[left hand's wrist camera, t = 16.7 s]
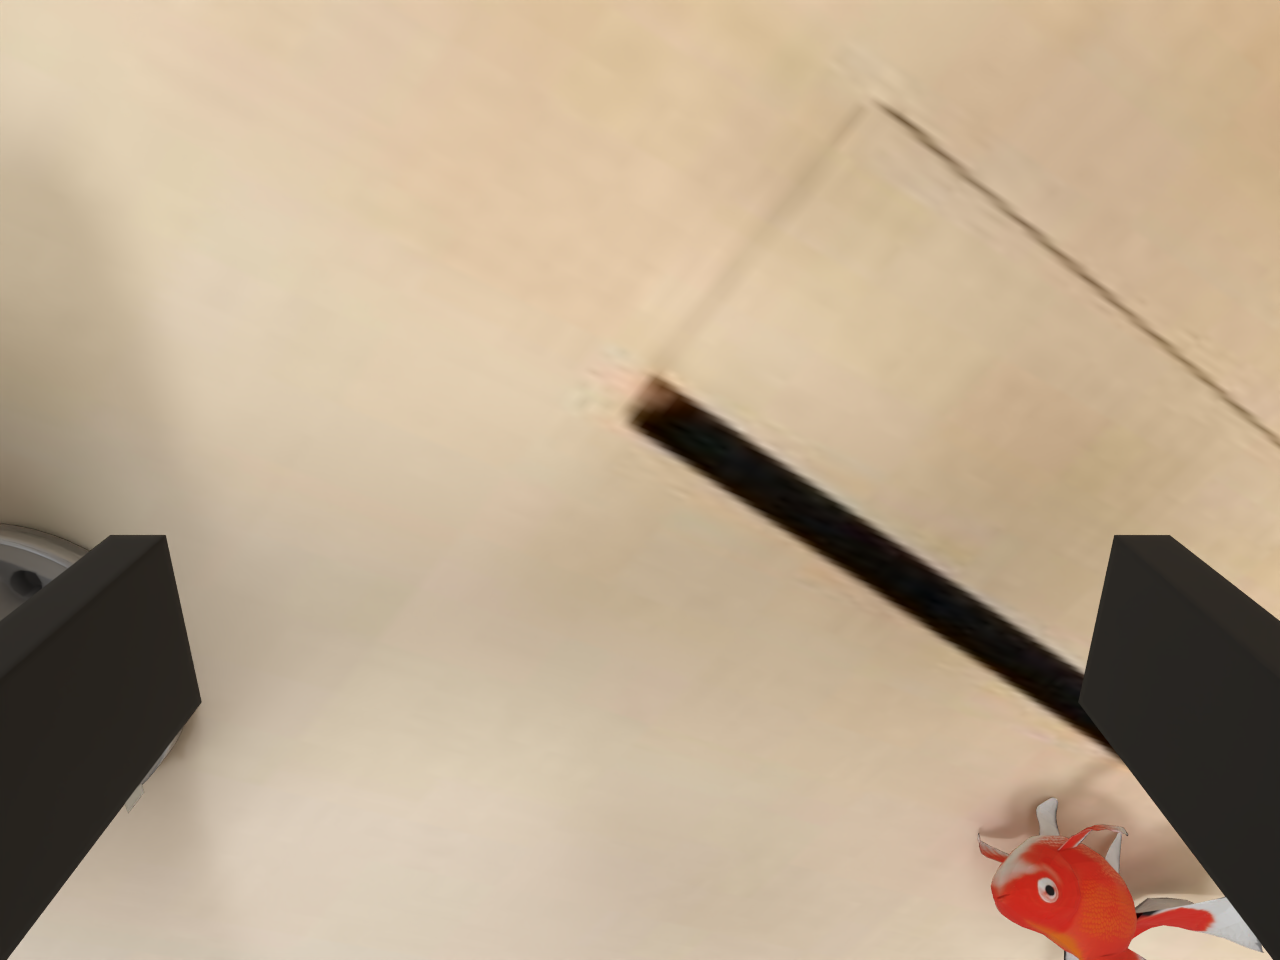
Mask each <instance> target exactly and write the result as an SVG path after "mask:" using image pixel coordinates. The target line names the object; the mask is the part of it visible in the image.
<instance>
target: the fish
mask: <svg viewBox="0 0 1280 960" xmlns="http://www.w3.org/2000/svg"><path fill="white" fill-rule="evenodd" d="M1057 806H1058V801H1057V799H1056V798H1053V797H1052V798H1050V799H1048V800H1046V801H1045V802H1043V803H1042V804H1040V805H1038V807H1037V809H1036V813H1037V818H1038V821H1039V825H1040V836H1032V837H1030V838H1029V839H1027V840H1026V841H1025V842H1024V843H1022V844H1021V845H1020V846H1019V847H1017V848H1016V849H1015V850H1013V851H1012V852H1011V853H1010V855H1009V854H1007V853H1004V852H1002V851H1000V850H998V849H995V848H993V847H991V846H989V845H987V844H986V843H984V842H982V841H980V836H979V833H978V838H977V839H978V842H979V847H980V851H981V853H982V854H983V855H984V856H986V857H988V858H991V859H994V860H996V861H999V862H1002V864H1001V865H1000V867H999V868H998V870H997V872H996V873H995V875H994V877H993V880H992V884H991V890H992V894H993V898H994V901H995V904H996V907H997V909H998V910H999V912H1000V913H1001V914H1002V915H1004V916H1005V917H1006V918H1008V919H1009V920H1011V921H1012V922H1014V923H1016V924H1018V925H1020V926H1022V927H1024V928H1027V929H1030V930H1033V931H1036V932H1038V933H1041V934H1043V935H1045V936H1046V937H1047V938H1049V939H1050V940H1051V941H1053V942H1054V943H1055V944H1057V945H1058V946H1059V947H1061V948H1062V949H1063V950H1064V960H1146V959H1144V958H1143V957H1141V956H1140V955H1138V954H1136V953H1135V952H1133V951H1131V950H1130V949H1128V946H1129V944H1130V942H1131V940H1132V939H1133V938H1134V937H1136V936H1137V935H1139V934H1140V933H1142V932H1144V931H1146V930H1148V929H1150V928H1152V927H1157V926H1162V925H1166V926H1174V927H1180V928H1184V929H1188V930H1192V931H1197V932H1202V933H1207V934H1211V935H1215V936H1218V937H1221V938H1225V939H1227V940H1230V941H1232V942H1235V943H1237V944H1239V945H1242V946H1244V947H1247V948H1250V949H1253V950H1256V951H1259V952H1263V951H1262V945H1261V943H1260V942H1259V940H1258V939H1257V938H1256V936H1255V935H1254V934H1253V932H1252V931H1251V930H1250V928H1249V927H1248V926H1247V924H1246V923H1245V922H1244V920H1243V919H1242V918H1241V916H1240V915H1239V914H1238V913H1237V911H1236V910H1235V909H1234V907H1233V906H1232V905H1231V903H1230V902H1229V901H1228V899H1227V898H1226V897H1223V898H1219V899H1214V900H1210V901H1205V902H1201V903H1195V904H1194V903H1192V902H1190V901H1188V900H1183V899H1173V898H1147V899H1146V900H1145V901H1143V902H1142V903H1141V904H1139V905H1138V906H1137V907H1136V908H1135V906H1134V902H1133V899H1132V896H1131V894H1130V892H1129V890H1128V888H1127V886H1126V884H1125V882H1124V880H1123V879H1122V878H1121V876H1120V875H1119V867H1120V849H1121V838H1122V835H1121V833H1123V834H1126V835H1127V836H1128V833H1127V832H1126V830H1125V829H1124V828H1123V827H1119V826H1109V825H1094V826H1092V827H1088V828H1086V829H1084V830H1082V831H1081V832H1079V833H1078V834H1076V835H1073V836H1071V837H1070V838H1066V837H1063V836H1059V834H1060V833H1059V830H1058V826H1057V821H1056V812H1057ZM1104 829H1108V830H1111V831H1114V832H1118V834H1117V836H1116V838H1115V840H1114V841H1113V843H1112V844H1111V846H1110V848H1109V850H1108V852H1107V855H1106V858H1105V859H1104V858H1103V857H1102V856H1101V855H1099V854H1098V853H1096V852H1095V851H1093V850H1092V849H1090V848H1089V847H1087V846H1085V845H1084V844H1081V842H1082V841H1083V839H1084V838H1085V837H1086V836H1087V835H1088V834H1089V833H1090V832H1091V831H1092V830H1094V831H1099V830H1104ZM1263 953H1264V952H1263Z"/></svg>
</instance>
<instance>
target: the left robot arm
mask: <svg viewBox="0 0 1280 960" xmlns="http://www.w3.org/2000/svg"><path fill="white" fill-rule="evenodd" d="M200 704H201V698H200V693H199V688H198V684H197V679H196V674H195V670H194V665H193V660H192V656H191V651H190V646H189V642H188V637H187V632H186V628H185V623H184V618H183V614H182V609H181V604H180V600H179V595H178V590H177V586H176V581H175V576H174V572H173V567H172V562H171V558H170V553H169V548H168V544H167V539H166V535H110V536H109V537H107V538H106V539H105V540H103V541H102V542H101V543H100V544H98V545H97V546H96V547H95V548H93V549H92V550H91V551H88V550H86V549H84V548H82V547H80V546H78V545H76V544H73V543H71V542H69V541H67V540H64V539H62V538H59V537H57V536H54V535H51V534H48V533H45V532H41V531H38V530H34V529H30V528H25V527H20V526H15V525H7V524H0V960H7V959H8V957H9V956H10V955H11V954H12V952H13V951H14V950H15V948H16V947H17V946H18V944H19V943H20V942H21V940H22V939H23V938H24V936H25V935H26V934H27V932H28V931H29V930H30V928H31V927H32V926H33V924H34V923H35V922H36V920H37V919H38V918H39V916H40V915H41V914H42V913H43V911H44V910H45V909H46V907H47V906H48V905H49V903H50V902H51V901H52V899H53V898H54V897H55V895H56V894H57V893H58V891H59V890H60V889H61V887H62V886H63V885H64V883H65V882H66V881H67V879H68V878H69V877H70V875H71V874H72V873H73V872H74V870H75V869H76V868H77V866H78V865H79V864H80V862H81V861H82V860H83V858H84V857H85V856H86V854H87V853H88V852H89V850H90V849H91V848H92V846H93V845H94V844H95V842H96V841H97V840H98V838H99V837H100V836H101V834H102V833H103V832H104V831H105V829H106V828H107V827H108V825H109V824H110V823H111V821H112V820H113V819H114V817H115V816H116V815H117V813H118V812H119V811H120V809H121V808H122V807H123V805H124V804H125V806H126V809H127V811H128V813H129V812H130V810H131V809H132V808H133V806H134V805H135V804H136V802H137V801H138V800H139V799H140V797H141V796H142V795H143V793H144V790H143V787H142V784H143V783H144V782H146V781H147V780H148V778H149V777H150V776H151V775H152V774H153V772H154V771H155V770H156V769H157V767H158V766H159V765H160V763H161V762H162V761H163V760H164V758H165V757H166V756H167V754H168V753H169V752H170V750H171V749H172V747H173V746H174V744H175V743H176V741H177V739H178V737H179V735H180V733H181V731H182V729H183V726H184V725H185V723H186V722H187V721H188V719H189V718H190V717H191V715H192V714H193V713H194V711H195V710H196V709H197V707H198V706H199V705H200ZM1079 704H1080V705H1081V706H1082V707H1083V709H1084V710H1085V711H1086V713H1087V714H1088V715H1089V717H1090V718H1091V719H1092V721H1093V722H1094V723H1095V725H1096V726H1097V727H1098V729H1099V730H1100V731H1101V733H1102V734H1103V735H1104V737H1105V738H1106V739H1107V741H1108V742H1109V743H1110V745H1111V746H1112V747H1113V749H1114V750H1115V751H1116V752H1117V754H1118V755H1119V756H1120V758H1121V759H1122V760H1123V762H1124V763H1125V764H1126V766H1127V767H1128V768H1129V770H1130V771H1131V772H1132V774H1133V775H1134V776H1135V778H1136V779H1137V780H1138V782H1139V783H1140V784H1141V786H1142V787H1143V788H1144V790H1145V791H1146V792H1147V793H1148V795H1149V796H1150V797H1151V799H1152V800H1153V801H1154V803H1155V804H1156V805H1157V807H1158V808H1159V809H1160V811H1161V812H1162V813H1163V815H1164V816H1165V817H1166V819H1167V820H1168V821H1169V823H1170V824H1171V825H1172V827H1173V828H1174V829H1175V831H1176V832H1177V833H1178V834H1179V836H1180V837H1181V838H1182V840H1183V841H1184V842H1185V844H1186V845H1187V846H1188V848H1189V849H1190V850H1191V852H1192V853H1193V854H1194V856H1195V857H1196V858H1197V860H1198V861H1199V862H1200V864H1201V865H1202V866H1203V868H1204V869H1205V870H1206V872H1207V873H1208V874H1209V875H1210V877H1211V878H1212V879H1213V881H1214V882H1215V883H1216V885H1217V886H1218V887H1219V889H1220V890H1221V891H1222V893H1223V894H1224V895H1225V897H1226V898H1227V899H1228V901H1229V902H1230V903H1231V905H1232V906H1233V907H1234V909H1235V910H1236V911H1237V913H1238V914H1239V915H1240V916H1241V918H1242V919H1243V920H1244V922H1245V923H1246V924H1247V926H1248V927H1249V928H1250V930H1251V931H1252V932H1253V934H1254V935H1255V936H1256V938H1257V939H1258V940H1259V942H1260V943H1261V944H1262V946H1263V947H1264V948H1265V950H1266V951H1267V952H1268V954H1269V955H1270V956H1271V957H1272V959H1273V960H1280V621H1279V620H1278V619H1277V618H1275V617H1274V616H1273V615H1271V614H1270V613H1269V612H1268V611H1266V610H1265V609H1264V608H1262V607H1261V606H1260V605H1259V604H1257V603H1256V602H1255V601H1253V600H1252V599H1251V598H1250V597H1248V596H1247V595H1246V594H1244V593H1243V592H1242V591H1241V590H1239V589H1238V588H1237V587H1236V586H1234V585H1233V584H1232V583H1230V582H1229V581H1228V580H1227V579H1225V578H1224V577H1223V576H1221V575H1220V574H1219V573H1218V572H1216V571H1215V570H1214V569H1212V568H1211V567H1210V566H1209V565H1207V564H1206V563H1205V562H1203V561H1202V560H1201V559H1200V558H1198V557H1197V556H1196V555H1194V554H1193V553H1192V552H1191V551H1189V550H1188V549H1187V548H1185V547H1184V546H1183V545H1182V544H1180V543H1179V542H1178V541H1177V540H1175V539H1174V538H1173V537H1171V536H1170V535H1114V539H1113V544H1112V548H1111V553H1110V558H1109V562H1108V567H1107V572H1106V576H1105V581H1104V586H1103V590H1102V595H1101V600H1100V604H1099V609H1098V614H1097V618H1096V623H1095V628H1094V632H1093V637H1092V642H1091V646H1090V651H1089V656H1088V660H1087V665H1086V670H1085V674H1084V679H1083V684H1082V688H1081V693H1080V698H1079Z"/></svg>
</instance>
